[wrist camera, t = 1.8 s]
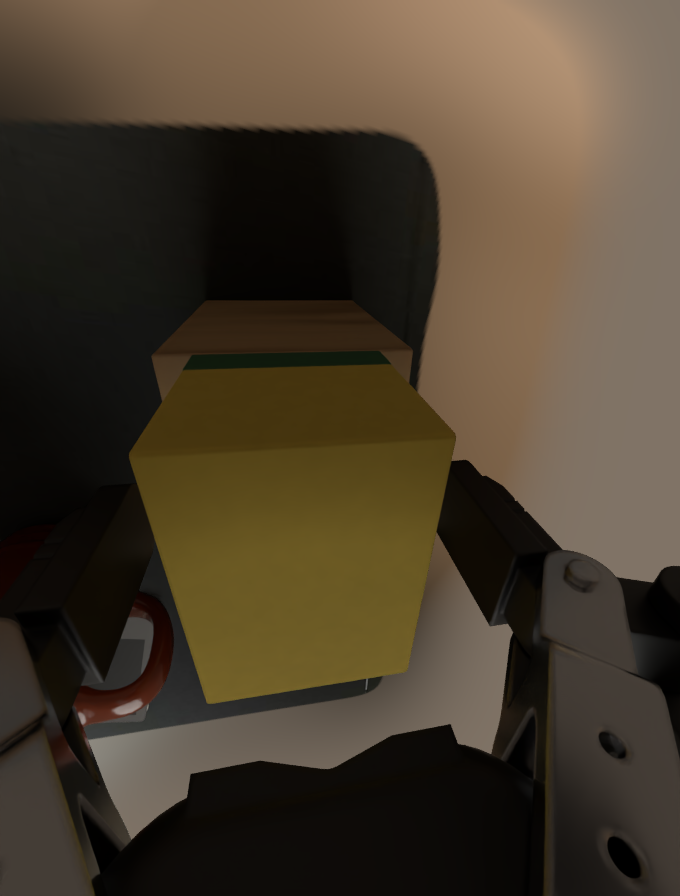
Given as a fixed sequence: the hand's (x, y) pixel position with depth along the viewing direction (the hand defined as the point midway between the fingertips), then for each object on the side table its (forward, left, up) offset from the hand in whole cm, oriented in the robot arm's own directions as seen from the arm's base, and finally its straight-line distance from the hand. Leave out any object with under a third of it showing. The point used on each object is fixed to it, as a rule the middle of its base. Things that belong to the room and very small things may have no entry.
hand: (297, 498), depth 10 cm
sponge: (0, 0, -2) cm, 2 cm away
